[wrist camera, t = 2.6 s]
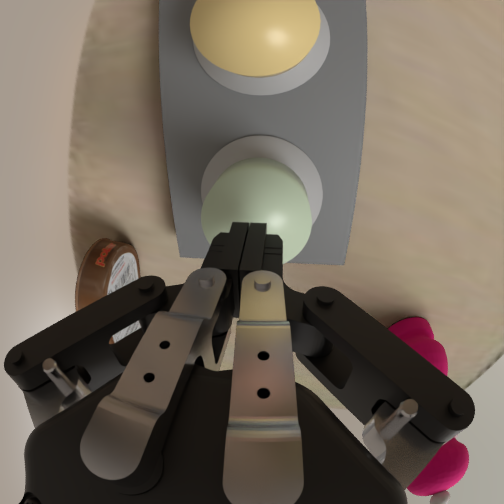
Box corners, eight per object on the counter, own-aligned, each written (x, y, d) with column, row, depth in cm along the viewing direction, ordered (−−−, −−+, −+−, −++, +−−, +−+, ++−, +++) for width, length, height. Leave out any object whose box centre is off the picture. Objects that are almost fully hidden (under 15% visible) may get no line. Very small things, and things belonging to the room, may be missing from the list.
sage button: (311, 159, 14) (316, 172, 12) (304, 248, 17) (306, 271, 15) (208, 157, 15) (196, 169, 13) (215, 244, 18) (206, 266, 16)
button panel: (341, -97, 5) (346, -112, 3) (338, 246, 22) (344, 266, 19) (181, -93, 6) (169, -107, 4) (189, 239, 23) (179, 258, 20)
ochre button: (313, -12, 9) (318, -29, 7) (314, 79, 12) (320, 78, 10) (204, -10, 9) (190, -24, 7) (204, 80, 12) (190, 79, 10)
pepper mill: (370, 359, 29) (388, 521, 12) (380, 317, 25) (416, 517, 9) (423, 350, 28) (457, 499, 11) (440, 308, 24) (497, 483, 7)
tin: (113, 220, 22) (57, 278, 15) (143, 226, 22) (92, 290, 15) (129, 330, 31) (102, 386, 24) (152, 337, 31) (128, 395, 24)
